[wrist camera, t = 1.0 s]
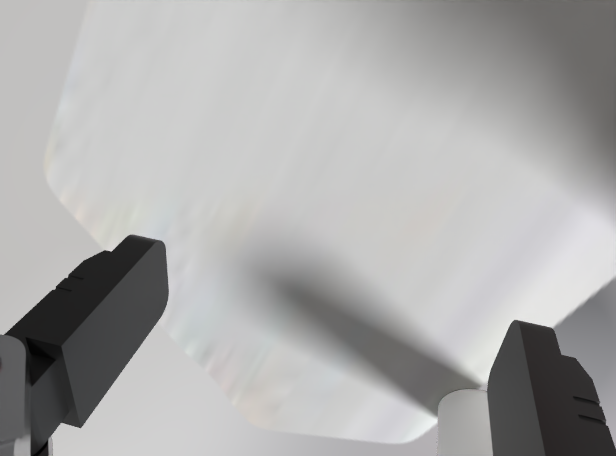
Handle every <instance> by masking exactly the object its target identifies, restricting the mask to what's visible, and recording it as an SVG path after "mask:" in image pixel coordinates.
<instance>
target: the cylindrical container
mask: <svg viewBox="0 0 616 456" xmlns="http://www.w3.org/2000/svg"><path fill="white" fill-rule="evenodd" d="M437 456H493V450H492V439H491V429H490V419H489V409H488V399H487V391H484V390H478V389H463V390H458V391H454V392H452V393H449V394H448V395H446V396H445V397H443V399H442V400H441V401H440V403H439V406H438V431H437Z"/></svg>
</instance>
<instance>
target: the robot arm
mask: <svg viewBox="0 0 616 456" xmlns="http://www.w3.org/2000/svg"><path fill="white" fill-rule="evenodd" d="M168 294H169V289H168V275H167V261H166V248H165V244H164V243H163V242H162V241H160V240H155V239H151V238H146V237H142V236H137V235H129V236H127V237H126V238H125V239H124V240H123V241H122V242H121V243H120V244H119V245H118V246H117V247H116V248H115V249H114V250H113V251H112V252H110V251H106V250H104V251H103V252H101V253H98V254H97V255H94V256H93V257H90V258H88V259H86V260H84V261H83V262H82V263H81V264H80V265H79V266H78V267H76V268H75V269H74V271H72V272H71V273H70V274H69V276H68V278H65V279H64V280H62V281H61V282H60V283H59V284H58V285H57V286H56V289H55V290H52V291H51V292H50V293H48V294H47V295H46V296H45V297H44V298H43V299H42V300H41V301H40V302H39V303H38V304H37V305H36V306H35V307H33V309H32V310H30V311H29V312H28V313H27V314H26V315H25V316H24V317H23V318H22V319H21V320H20V321H18V322H17V323H16V324H15V325H14V326H13V327H12V328H11V329H10V330H9V331H8V332H7V333H6V334H4V335H0V456H53V443H52V438H51V435H52V434H53V433H54V431H55V430H56V429H57V427H58V426H59V425H60V423H65V424H68V425H72V426H75V427H79V428H81V427H82V426H83V425H84V423H85V422H86V420H87V419H88V418H89V416H90V415H91V413H92V412H93V411H94V409H95V408H96V406H97V405H98V404H99V402H100V401H101V399H102V398H103V397H104V395H105V394H106V393H107V391H108V390H109V388H110V387H111V386H112V384H113V383H114V381H115V380H116V379H117V377H118V376H119V375H120V373H121V372H122V370H123V369H124V368H125V366H126V365H127V363H128V362H129V361H130V359H131V358H132V357H133V355H134V354H135V352H136V351H137V350H138V348H139V347H140V345H141V344H142V343H143V341H144V340H145V338H146V337H147V336H148V334H149V333H150V332H151V330H152V329H153V327H154V326H155V325H156V323H157V322H158V320H159V319H160V318H161V316H162V314H163V312H164V310H165V308H166V305H167V301H168ZM487 399H488V409H489V419H490V429H491V439H492V450H493V456H616V449H615V446H614V443H613V440H612V437H611V434H610V431H609V428H608V426H606V419H605V416H604V413H603V410H602V407H600V406H599V403H600V401H599V398H598V395H597V392H596V389H595V386H594V383H593V380H592V379H591V377H590V376H589V375H588V374H587V372H586V371H585V370H584V369H583V367H582V366H581V365H580V363H579V362H578V361H577V360H576V358H573V357H568V356H564V355H561V352H560V349H559V345H558V342H557V338H556V334H555V332H554V330H553V329H552V328H550V327H546V326H541V325H537V324H532V323H528V322H523V321H519V320H514V321H513V322H512V323H511V325H510V326H509V329H508V331H507V333H506V336H505V338H504V340H503V343H502V345H501V347H500V350H499V352H498V354H497V357H496V359H495V361H494V364H493V366H492V368H491V371H490V375H489V380H488V389H487Z"/></svg>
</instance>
